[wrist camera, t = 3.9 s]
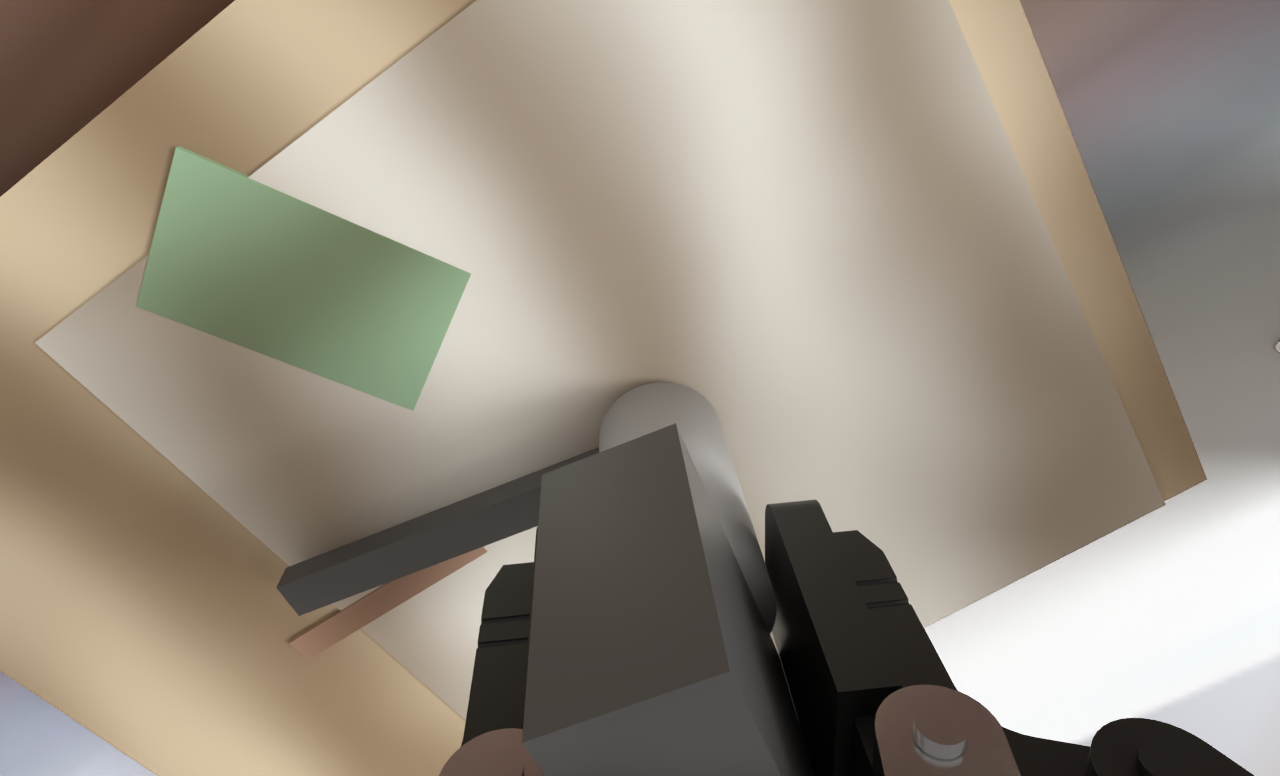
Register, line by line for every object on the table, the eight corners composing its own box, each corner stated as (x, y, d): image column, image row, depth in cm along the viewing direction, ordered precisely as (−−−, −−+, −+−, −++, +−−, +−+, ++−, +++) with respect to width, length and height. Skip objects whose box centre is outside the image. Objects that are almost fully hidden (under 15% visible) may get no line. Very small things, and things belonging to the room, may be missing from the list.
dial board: (761, -374, 14) (828, -500, 10) (1100, 394, 21) (1210, 482, 17) (-143, 367, 19) (-320, 463, 15) (390, 783, 26) (359, 916, 22)
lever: (661, 279, 14) (766, 658, 6) (765, 530, 17) (931, 1021, 9) (211, 462, 15) (-186, 986, 7) (375, 672, 18) (212, 1226, 10)
